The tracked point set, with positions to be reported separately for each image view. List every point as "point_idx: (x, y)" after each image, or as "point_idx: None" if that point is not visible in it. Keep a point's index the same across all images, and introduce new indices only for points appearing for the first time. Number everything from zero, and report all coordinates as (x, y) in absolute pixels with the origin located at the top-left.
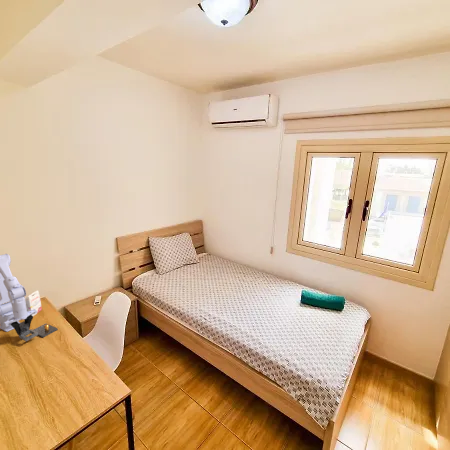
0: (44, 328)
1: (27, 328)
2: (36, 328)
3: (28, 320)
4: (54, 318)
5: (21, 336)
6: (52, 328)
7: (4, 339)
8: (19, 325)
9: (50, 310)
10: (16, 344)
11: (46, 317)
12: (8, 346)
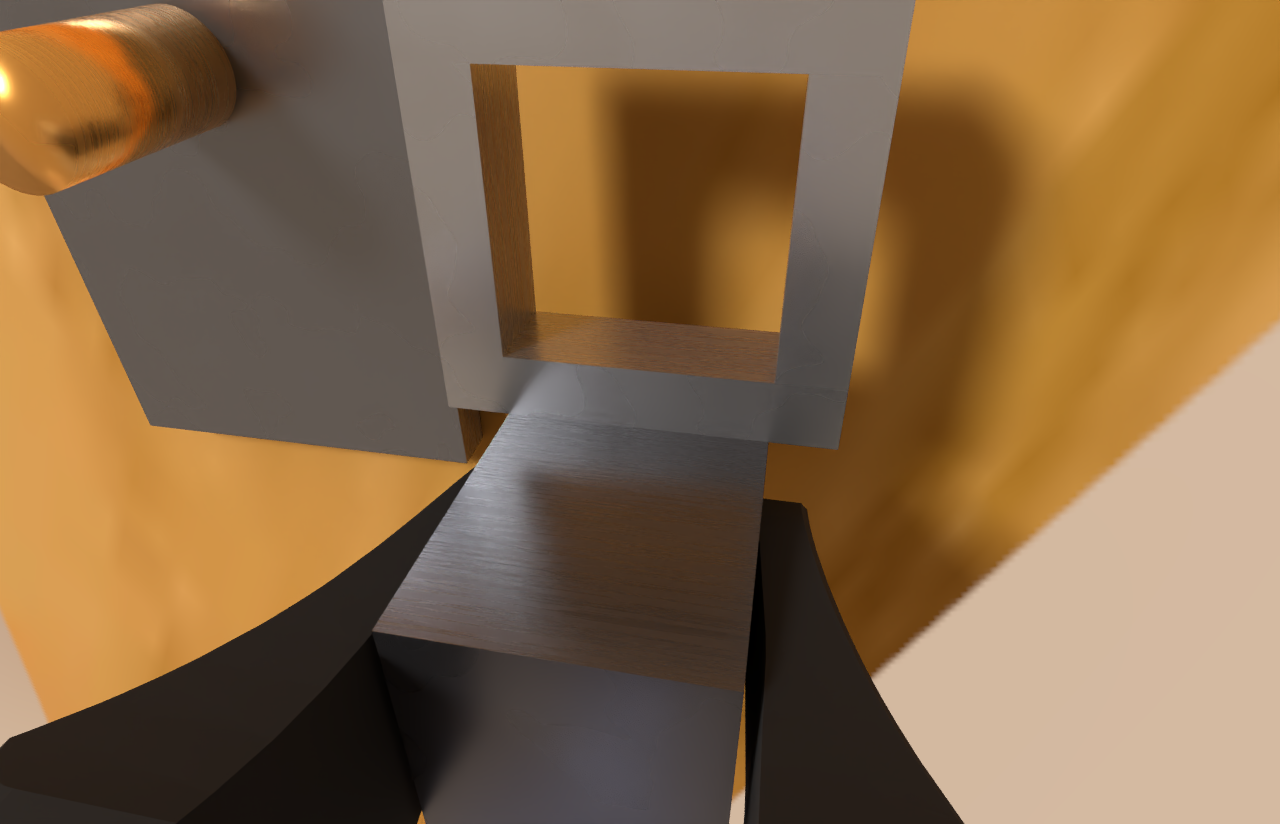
0: (217, 257)
1: (526, 480)
2: (357, 436)
3: (269, 759)
4: (12, 450)
5: (859, 309)
6: (32, 20)
7: (878, 672)
8: (678, 785)
9: (59, 683)
10: (945, 305)
11: (136, 594)
12: (1069, 408)
